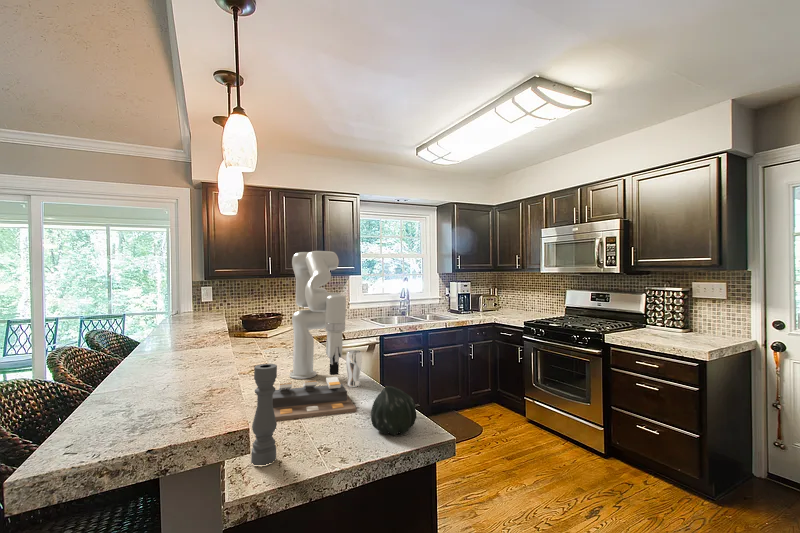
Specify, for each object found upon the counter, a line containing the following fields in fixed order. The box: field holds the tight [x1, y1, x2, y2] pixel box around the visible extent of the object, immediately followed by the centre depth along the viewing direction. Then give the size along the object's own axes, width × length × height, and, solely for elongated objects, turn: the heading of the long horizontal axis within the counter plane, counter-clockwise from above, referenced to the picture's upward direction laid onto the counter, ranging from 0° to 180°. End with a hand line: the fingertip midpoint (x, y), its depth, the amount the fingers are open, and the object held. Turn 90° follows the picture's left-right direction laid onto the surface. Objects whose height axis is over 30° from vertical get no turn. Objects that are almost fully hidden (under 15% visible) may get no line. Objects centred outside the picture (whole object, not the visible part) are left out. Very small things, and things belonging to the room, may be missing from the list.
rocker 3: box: [325, 376, 342, 389], centre depth 144 cm, size 8×4×2 cm, turn 19°
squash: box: [370, 385, 418, 436], centre depth 118 cm, size 14×15×15 cm
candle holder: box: [250, 363, 278, 465], centre depth 98 cm, size 6×6×25 cm
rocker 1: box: [278, 382, 293, 390], centre depth 138 cm, size 8×4×1 cm, turn 20°
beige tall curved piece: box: [345, 349, 363, 388], centre depth 165 cm, size 7×7×15 cm
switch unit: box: [273, 383, 357, 422], centre depth 139 cm, size 22×30×6 cm
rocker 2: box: [302, 380, 318, 388], centre depth 142 cm, size 8×4×2 cm, turn 20°
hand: (333, 374), depth 142 cm, fingers closed
